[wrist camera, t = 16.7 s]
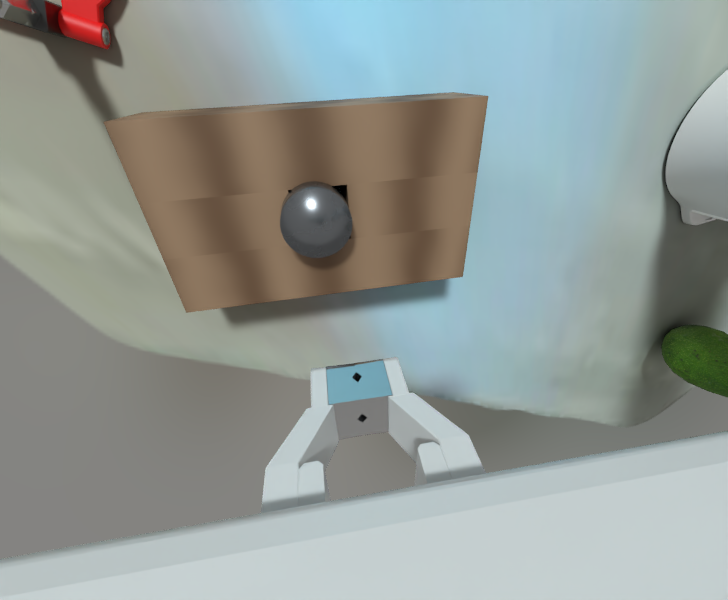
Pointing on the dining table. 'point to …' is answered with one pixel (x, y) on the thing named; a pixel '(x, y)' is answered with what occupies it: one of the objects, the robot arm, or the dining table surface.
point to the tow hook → (61, 18)
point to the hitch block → (296, 166)
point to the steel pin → (315, 219)
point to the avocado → (698, 356)
